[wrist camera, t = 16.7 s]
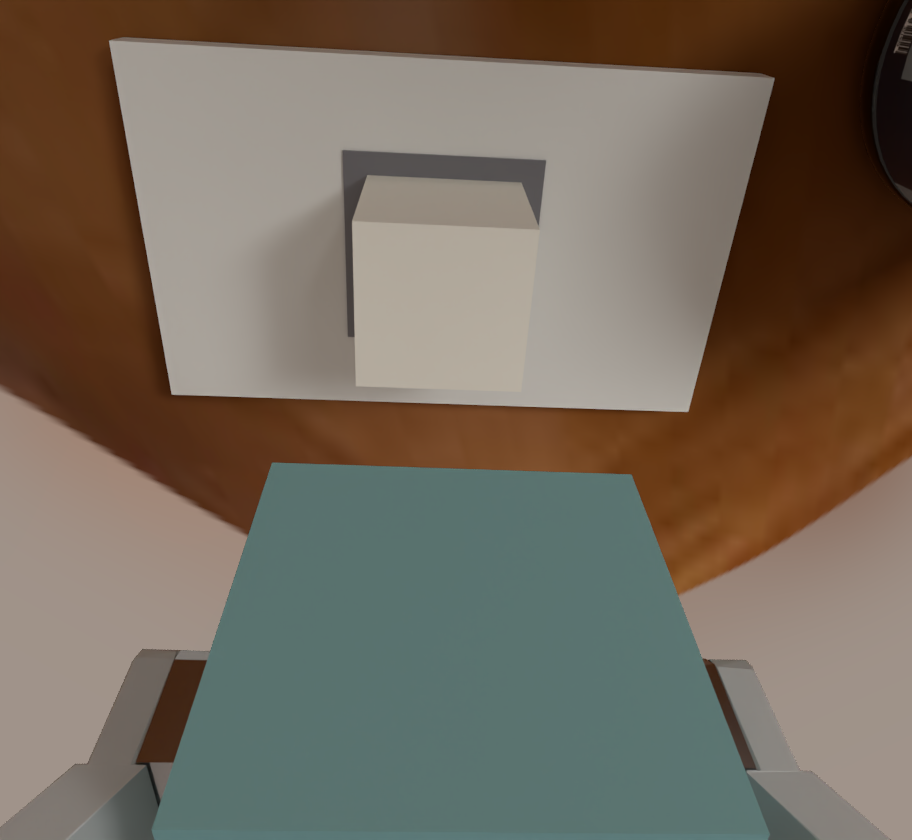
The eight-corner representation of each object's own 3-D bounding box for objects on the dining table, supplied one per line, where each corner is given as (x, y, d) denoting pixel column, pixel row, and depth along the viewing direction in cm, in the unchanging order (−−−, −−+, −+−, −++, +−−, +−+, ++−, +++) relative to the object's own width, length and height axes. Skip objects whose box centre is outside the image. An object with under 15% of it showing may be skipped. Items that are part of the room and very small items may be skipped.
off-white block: (521, 182, 24) (539, 229, 19) (507, 323, 26) (521, 392, 22) (367, 175, 23) (351, 221, 19) (368, 317, 26) (355, 386, 22)
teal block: (630, 474, 10) (770, 833, 6) (579, 702, 13) (649, 1064, 9) (271, 462, 10) (151, 831, 6) (294, 698, 13) (222, 1068, 8)
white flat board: (760, 73, 23) (776, 78, 22) (679, 396, 30) (688, 413, 29) (123, 37, 22) (107, 40, 21) (181, 379, 29) (170, 395, 28)
